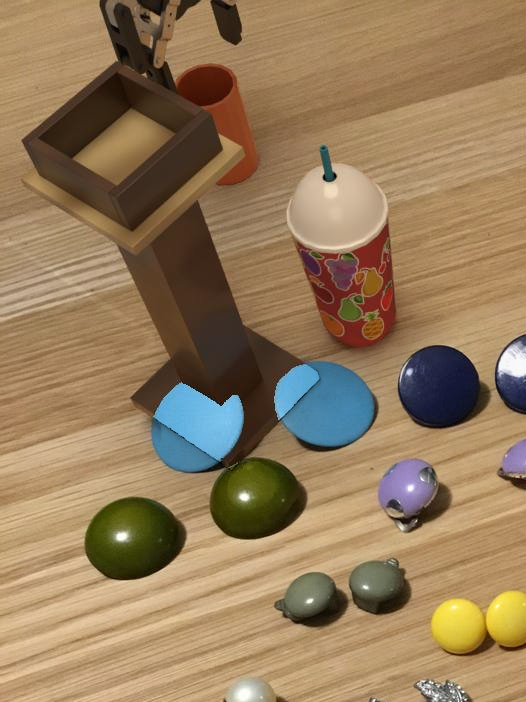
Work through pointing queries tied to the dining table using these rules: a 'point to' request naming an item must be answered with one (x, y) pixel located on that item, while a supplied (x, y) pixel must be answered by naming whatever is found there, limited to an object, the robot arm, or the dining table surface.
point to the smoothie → (345, 250)
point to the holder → (161, 233)
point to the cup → (222, 111)
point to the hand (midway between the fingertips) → (200, 67)
